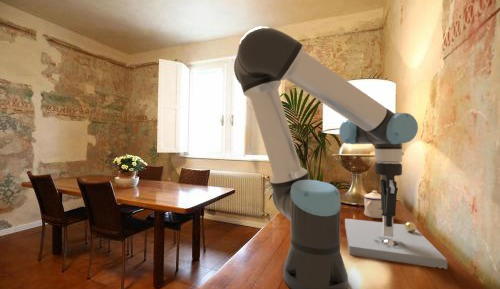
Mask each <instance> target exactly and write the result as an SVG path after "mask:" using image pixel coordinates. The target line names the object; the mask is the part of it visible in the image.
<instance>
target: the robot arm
mask: <svg viewBox="0 0 500 289" xmlns="http://www.w3.org/2000/svg"><path fill="white" fill-rule="evenodd" d="M233 72H234V75H235V78H236V80H237V82H238V83H239V84H240V86H241V89H242V93H243V96H245V97H247V98H249V99H250V101H251V105H252V107H253V111H254V115H255V118H256V123H257V125H258V129H259V131H260V135H261V138H262V141H263V142H262V143H263V145H264V148H265V151H266V154H267V157H268V161H269V165H270V168H271V172H272V175H271V178H270V179H269V181H270V185H271V189H272V193H271V194H272V200H273V204H274V206H275V207H276V209H277V210H278V211H279V212H280V213H281V214H282V215H283V216H285V217H286V219H287V220H288V221H289V222H290V247H289V249H288V252H287V255H286V257H285V258H286V259H285V261H284V264H283V274H282V275H283V280H284V283H285V284H286V285H287V286H288V287H289V288H291V289H348V286H349V276H348V272H347V268H346V266H345V262H344V259H343V257H342V253H341V207H342V203H341V194H340V191H339V188H337V187H336V186H334V185H333V184H331V183H329V182H326V181H321V180H316V179H315V180H314V179H310V176H309V173H308V169H305V168H304V167H302V166H301V164H300V161H299V156H298V153H297V150H296V147H295V142H294V139H293V137H292V132H291V129H290V126H289V123H288V119H287V116H286V113H285V109H284V106H283V102H282V100H281V95H280V92H279V88H280V87H281V85H282V81H285V80H287V81H288V82H290V83H292V84H293V85H295V87H297V88H299V89H301V90H303V91H304V92H305V93H306V94H308V95H310V96H311V97H313V98H314V99H316V100H318V101H319V102H320V103H322V104H324V105H325V106H327V107H328V108H330V109H331V110H333V111H334V112H336V113H338V114H339V115H341V116H342V117H343V118H345V119H346V120H344V121H342V122H341V124H340V126H339V130H338V131H339V138H340V140H341V142H342V143H343V144H345V145H346V144H347V145H348V144H349V145H374V161H375V164H374V173H375V175H378V176H381V179H380V181H379V186H380V195H381V210H383V211H382V216H383V218H382V222H383V235H384V236H390V237H393V224H394V217H396V215H397V214H396V210H397V198H398V197H397V195H398V190H399V188H398V185H397V184H398V183H397V181H396V180H395V179H396V178H395V176H396V177H400V176H402V175H403V164H402V161H403V156H404V155H405V153H404V152H403V151H402V150H403V144H407V143H409V142H412V141H413V139H415V138H416V136H417V134H418V130H419V124H418V121H417V119H416V118H415V116H413V115H412V114H411V113H406V112H396V113H395V112H393V111H391V110H390V109H389V108H387V107H386V106H384V105H382V104H381V103H380V102H378V101H377V100H376V99H374V98H373V97H371V96H369V95H368V94H366V93H365V91H364V92H363V91H362V90H361V89H360V88H358V87H356V86H355V85H353V84H352V83H351V82H349V81H348V80H346V79H344V78H343V77H342V76H341V75H339V74H338V73H336V72H334V71H333V70H332V69H330V68H329V67H327V65H324V64H323V63H322V62H320V61H319V60H317V59H316V58H314V57H313V56H311V55H310V54H308V53H307V52H306V50H305V45H304V44H303V43H301V42H299V41H298V40H297V39H295V38H293V36H291V35H288V34H286V33H284V32H282V31H281V30H278V29H275V28H273V27H268V26H258V27H255V28H253V29H250V30H249V31H248V32H246V33H245V34H244V35H243V37H242V38H241V39H240V41H239V45H238V49H237V54H236V56H235V59H234V62H233Z"/></svg>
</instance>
